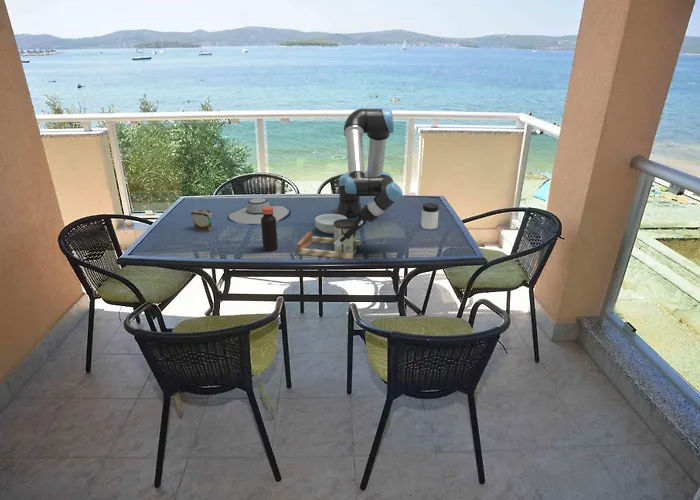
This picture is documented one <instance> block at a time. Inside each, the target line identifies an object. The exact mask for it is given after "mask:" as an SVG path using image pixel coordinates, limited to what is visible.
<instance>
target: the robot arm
mask: <svg viewBox="0 0 700 500" xmlns="http://www.w3.org/2000/svg"><path fill="white" fill-rule="evenodd" d="M393 133H394V117H393V111H392V110H391V108H384V107H382V108H359V109H356V110H354V111H353V112H351V114H349V115H348V117H347V118H346V120H345V122H344V126H343V136H344V137H345V139H346V140H345V141H346V152H347V153H346V155H347V170H348V171H347V172H348V173H344V174H341V176H340V177H339V179H338V182H339V183H338V186H339V188H338V189H339V190H338V191H339V192H338V193H339V194H338V195H339V196H338V197H339V199H338V204H337V209H336V213H335V214H339V215H343V216H345V217H347V219H354V218H355V219H354V221H355V222H354V225H353V226H352V227H351V228H350V229H349V230H348V231H347V232H346V233H343V235H342V236H341V237H340V238H339V239H337V240H336V241H335V242H334V244H335V245H336V246H337V247H339V246H340V245H341V244H342V243H343V242H345V241H346V240H347V239H349V238H350V237H351V236H352V235H353V234H354V233H355V232H356V233H357V231H358V230H359V229H360V228H362V226H363V227H364V225H365V224H366V222H367V221H368V222H369V223H373V222H374V221H375V220H376V219H377V218H378V217H380V216H381V215H384V214H385V212H386V210H388V209H389V208H390V207H392V206H393V204H395V203H396V202H397V201H399V199H400V198H401V197H402V196H403V190H402V189H401V187H400V186H399V185H398V184H397V182H396V183H395V182H394V179H393V176H392V175H391V174H390V173H388V172H385V171H384V164H385V163H384V162H385V155H386V154H385V153H386V144H387V140H388V139H389V137H390V134H393ZM364 134H366V135H367V137H368V138H369V140H368V156H367V169H366V171H365V158H364V146H363V136H364ZM360 197H364V198H365V197H373V198H372V199H371V200H370V201H369V202H367V204H366V205H364V206H363V207H362V204H361V200H360ZM334 244H333V245H334Z"/></svg>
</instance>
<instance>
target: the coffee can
mask: <svg viewBox="0 0 700 500" xmlns="http://www.w3.org/2000/svg"><path fill="white" fill-rule="evenodd" d="M354 220H355V219H354ZM354 220H353V219H351V218H347V219H340V220H336V221H334V234H333V238H334V242H335V241H336V240H337V239H339V238H340V237H341V236H342V235H343V233H346V232H347V231H348V230H349V229H350V228H351V227H352V226H353V225H354V222H355V221H354ZM356 233H357V231H356V232H355V233H354V234H353V235H352V236H351V237H350V238H349V239H347V240H346V241H345V242H343V243H342V244H341V245H340V246H339V247H337V246H336V245H335V244H333V245H334V250H333V251H339V252H351V253H353V254H355V253H356V251H357V246H356V240H357V239H356V238H357V234H356Z"/></svg>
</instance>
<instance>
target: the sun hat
mask: <svg viewBox="0 0 700 500" xmlns="http://www.w3.org/2000/svg"><path fill="white" fill-rule="evenodd" d="M264 207H272V208H273V216H274V217H275V218H276V222H281V221H282V220H284V219H285V218H287V217H288V216H289V215H290V214H291V212H292V211H291V209H290V208H288V207H287V206H284V205H271V204H270V202H269V200H268V199H267V198H264V197H256V198H252V199H249V200H248V201H247V205H246V206H244V207H243V208H241V209H239V210H236V211H233V212H231V213H229V214H228V215H227V216H226V217H227V220H228V221H229V222H231V223H236V224H237V223H238V224H244V225H249V226H255V225H260V224H261V218H262V217H263V213H262V208H264Z"/></svg>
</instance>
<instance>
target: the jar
mask: <svg viewBox="0 0 700 500" xmlns="http://www.w3.org/2000/svg"><path fill="white" fill-rule="evenodd" d="M438 222H439V205H438V204H437V203H433V202H427V203H426V202H425V203H423V204H422V209H421V224H420V225H421V227H422V229H425V230H426V229H427V230H435V229H438V226H439V224H438Z"/></svg>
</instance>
